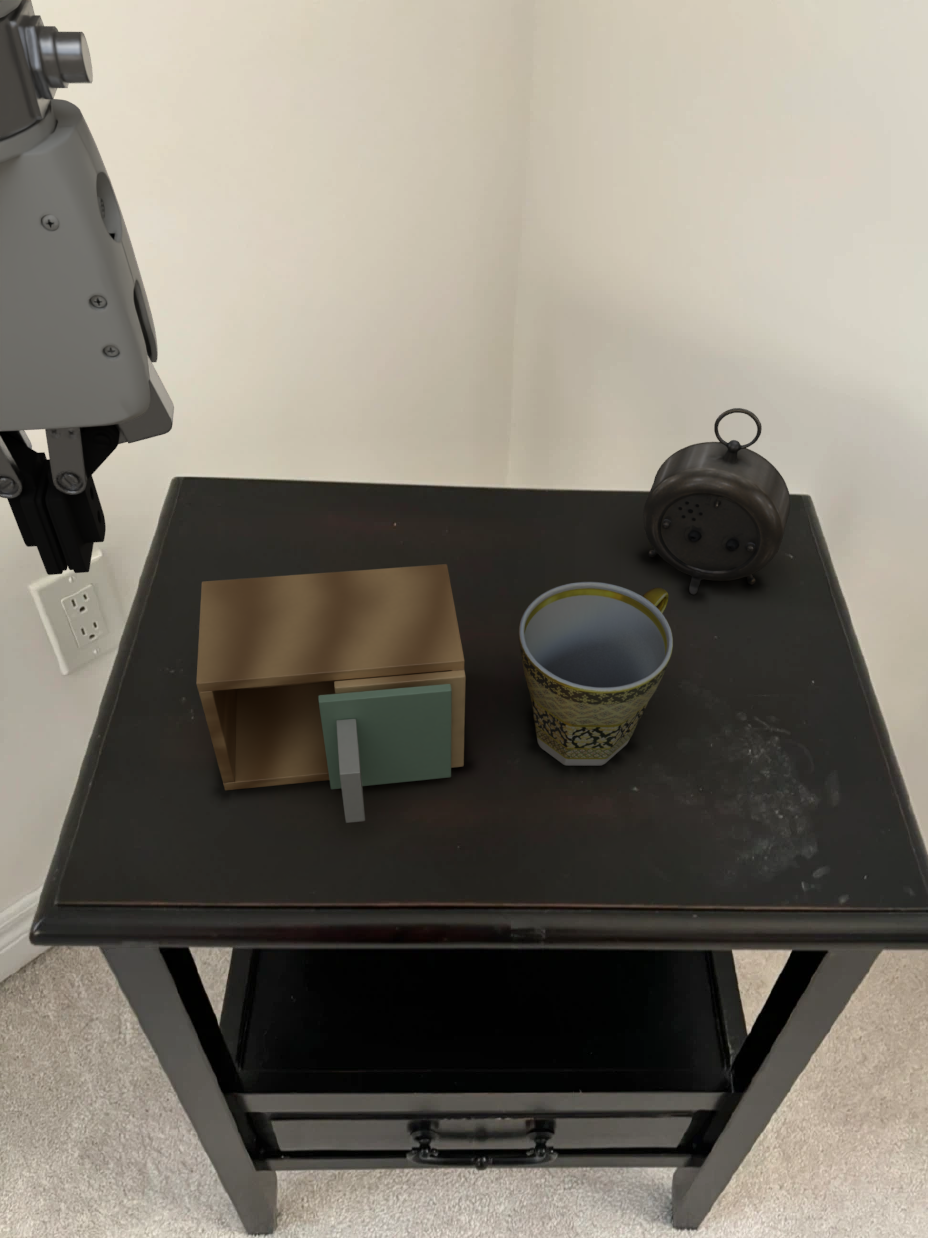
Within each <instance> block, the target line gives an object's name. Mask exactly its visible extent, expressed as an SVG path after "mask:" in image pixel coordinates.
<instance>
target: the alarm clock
mask: <svg viewBox="0 0 928 1238" xmlns="http://www.w3.org/2000/svg"><path fill="white" fill-rule="evenodd" d="M731 414H744V415H747V416H748V417H750V418H751V419H752V420H753V421H754V423H755V426H756V434H755V436H754V437H753V439H752V440H751V441H750V442H748V443H747V444H741V443H740V441H738V440H736V439H732V440H730V441H728V442H727V441H726V440H725V439H723V438H722V437H721V435H720V433H719V432H720V431H719V425H720V423H721V421H722V420H723V419H724V418H725V417H726V416H728V415H731ZM713 426H714V428H713V431H714V435H715V437H716V439H717V440H718V441H704V442H697V443H694V444H690V445H687V446H685V447H683V448H680V449H679V450H676V451H675V452H674V453H672V454H671V455H669V456H668V457H667V458H666V459H665V460H664V461H663V462H662V464H661V465H660V466H659V468H658V470H657V472H656V474H655V476H654V479H653V483H652V485H651V487H650V490H649V493H648V495H647V498H646V500H645V503H644V506H643V512H642V513H643V514H642V521H643V527H644V531H645V534H646V537H647V539H648V541H649V544H650V545H651V546H652V548H653V549H650V550H649V551H648V556H649V557H650V558H655V557H656V556H657V555H659V557H660V558H662V560H664V562H666V563H667V564H669V565H670V566H671V567H673V568H674V569H676V570H677V571H680V572H682V573H683V574H685V575H688V576H691V579H690V583H689V586H688V589H689V590H688V591H689V593H690V594H691V595H696V594H697V592H698V590H699V587H700V584H701V581H702V580H707V581H713V582H714V581H716V582H721V581H722V582H725V581H726V582H727V581H734V580H739V579H743V578H747V584H748V585H751V586H752V585H754V584H756V578H755V577H753V574H755V573H757V572H759V571H761V570H762V569H763V568H765V567H766V566H767V565H768V564H769V563H770V562H771V561H772V560H773V559H774V558H775V557H776V555H777V553H778V551H779V550H780V547H781V545H782V542H783V538H784V534H785V530H786V528H787V523H788V520H789V516H790V511H791V496H790V491H789V488H788V485H787V482H786V481H785V479H784V477H783V476H782V474H781V472H780V471H779V470H778V469H777V468H776V466H774V465H773V464H772V463H771V462H770V461H769V460H768V459H766V458H765V457H764V456H762V455H761V454H759V453H758V452H756V451H754V450H752V449H749V447H751V446H752V445H754V444H755V443H757V442H758V440H759V438H760V436H761V434H762V430H763V429H762V423H761V420H760V419H759V417H758V416H757V415H756V414H755V413H754V412H753V411H751V410H749V409H746V408H743V407H733V408H730V409H726V410H725V411H723V412H721V414H720V415H718V416H717V417H716V420H715V422H714V425H713Z"/></svg>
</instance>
